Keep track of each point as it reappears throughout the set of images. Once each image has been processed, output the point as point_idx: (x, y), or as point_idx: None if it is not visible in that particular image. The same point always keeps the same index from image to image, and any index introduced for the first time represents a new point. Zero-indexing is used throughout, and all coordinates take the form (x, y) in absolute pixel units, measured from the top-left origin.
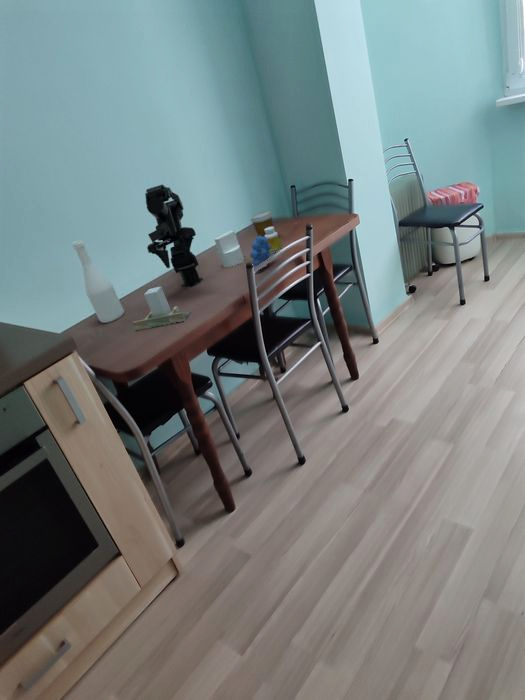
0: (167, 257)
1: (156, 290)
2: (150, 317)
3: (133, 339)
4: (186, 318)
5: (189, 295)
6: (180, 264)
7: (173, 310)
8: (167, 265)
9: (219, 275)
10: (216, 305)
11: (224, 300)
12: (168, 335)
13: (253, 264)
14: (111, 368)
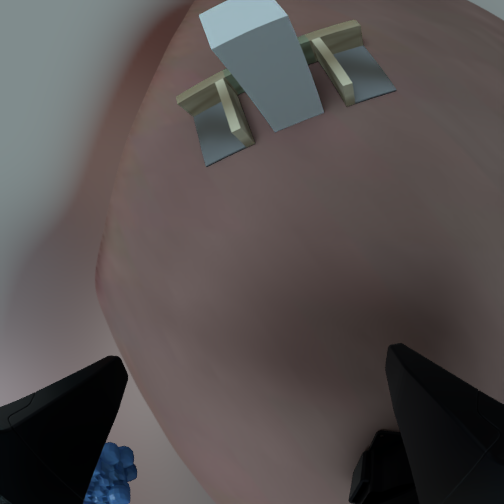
0: (423, 480)
1: (209, 20)
2: (325, 64)
3: (313, 13)
4: (195, 124)
5: (330, 332)
6: (396, 501)
7: (224, 101)
8: (395, 364)
9: (282, 494)
10: (137, 218)
11: (128, 253)
12: (201, 51)
13: (110, 445)
14: None
